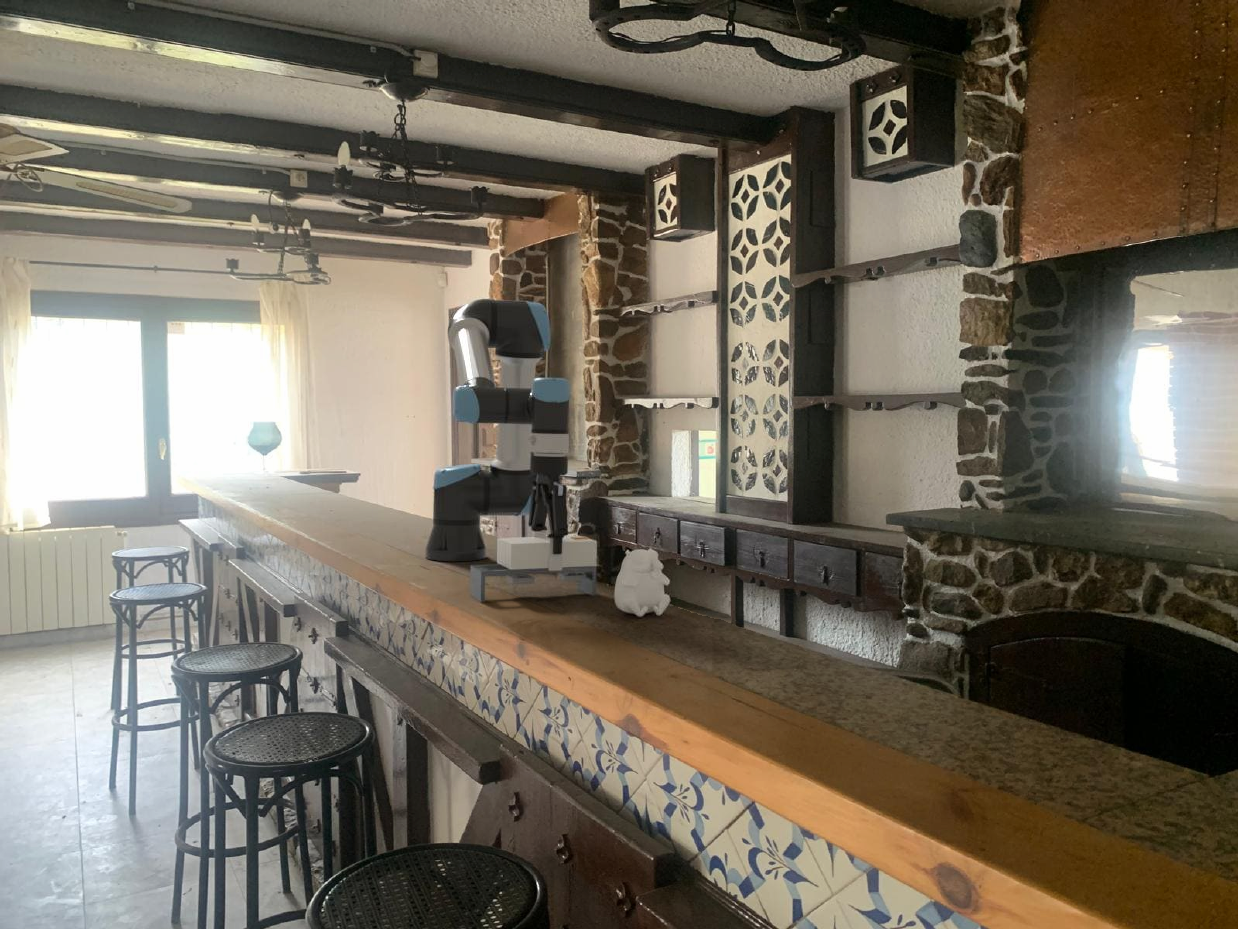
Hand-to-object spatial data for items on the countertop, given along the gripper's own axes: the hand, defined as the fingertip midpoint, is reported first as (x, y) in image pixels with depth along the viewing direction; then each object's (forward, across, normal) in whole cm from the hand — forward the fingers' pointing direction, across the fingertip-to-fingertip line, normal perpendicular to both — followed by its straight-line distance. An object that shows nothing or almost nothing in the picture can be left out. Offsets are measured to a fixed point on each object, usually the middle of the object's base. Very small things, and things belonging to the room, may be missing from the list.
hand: (546, 566), depth 187 cm
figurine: (+6, +22, +10) cm, 25 cm away
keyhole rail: (+6, 0, -3) cm, 6 cm away
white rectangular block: (+3, 0, 0) cm, 3 cm away
